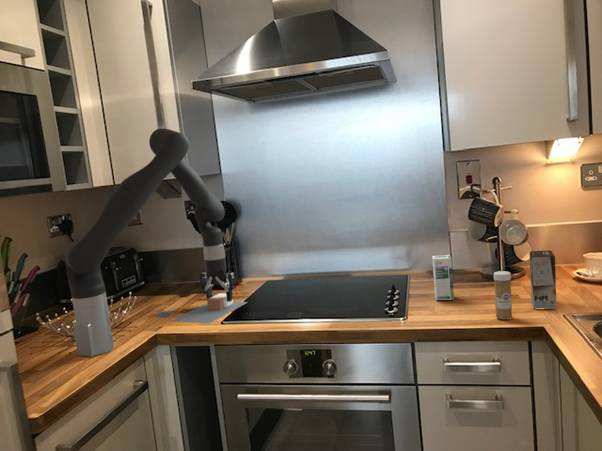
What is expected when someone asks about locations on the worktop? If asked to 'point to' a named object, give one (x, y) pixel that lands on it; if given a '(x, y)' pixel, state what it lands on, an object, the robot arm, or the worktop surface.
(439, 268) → the syrup box
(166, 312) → the smartphone
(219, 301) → the card box
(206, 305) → the mat
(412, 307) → the worktop surface
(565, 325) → the worktop surface
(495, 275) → the sprinkles bottle
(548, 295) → the coffee box
